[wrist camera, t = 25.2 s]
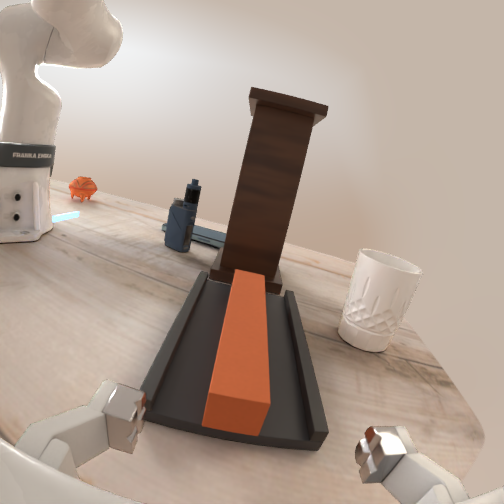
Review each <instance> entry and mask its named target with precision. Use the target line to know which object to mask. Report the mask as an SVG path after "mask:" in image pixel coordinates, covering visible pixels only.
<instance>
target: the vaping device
mask: <svg viewBox="0 0 504 504" xmlns="http://www.w3.org/2000/svg"><path fill="white" fill-rule="evenodd" d="M200 191H201V186H198V180H195V179H192V183H191V184H187V188H186V193H185V198H184V199H179V198H174V202H173V204H172V206H171V207H170V209H169V215H168V221H167V227H166V233H165V239H164V241H165V245H166V246H168V247H170V248H172V249H174V250H177V251H179V252H187V251H189V250H190V244H191V239H192V233H193V228H194V223H195V218H196V213H197V206H198V201H199V195H200Z"/></svg>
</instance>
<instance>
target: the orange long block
mask: <svg viewBox="0 0 504 504" xmlns="http://www.w3.org/2000/svg"><path fill="white" fill-rule="evenodd" d="M269 407H270V380H269V357H268V336H267V315H266V295H265V276H264V275H260V274H256V273H251V272H247V271H242V270H238V269H235V273H234V278H233V282H232V287H231V291H230V296H229V300H228V305H227V309H226V314H225V318H224V323H223V328H222V332H221V337H220V341H219V346H218V350H217V355H216V360H215V364H214V369H213V374H212V378H211V383H210V388H209V392H208V397H207V402H206V407H205V411H204V416H203V421H202V426H204V427H209V428H213V429H218V430H224V431H229V432H234V433H240V434H246V435H253V436H258V435H259V433H260V430H261V428H262V425H263V422H264V420H265V417H266V415H267V412H268V409H269Z"/></svg>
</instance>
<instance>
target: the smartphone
mask: <svg viewBox="0 0 504 504" xmlns="http://www.w3.org/2000/svg"><path fill="white" fill-rule="evenodd" d="M166 227H167V223H166V224H163V225H162V230H163V231H166ZM225 238H226V233H222V232H218V231H215V230H211V229H207V228H204V227H200V226H196V225H194V228H193V233H192V239H193V240H197V241H200V242H204V243H207V244H210V245H212V246H213V247H217V248H221V247H223V248H224V243H225Z"/></svg>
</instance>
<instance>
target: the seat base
mask: <svg viewBox="0 0 504 504" xmlns="http://www.w3.org/2000/svg"><path fill="white" fill-rule="evenodd" d="M207 278H208V273H207V272H203V271H201V272H200V274H199V276H198V278H197V279H196V281H195V283H194V285H193V287H192V289H191V291H190V292H189V294H188V296H187V298H186V300H185V302H184V304H183V306H182V308H181V309H180V311H179V313H178V315H177V317H176V319H175V321H174V323H173V325H172V327H171V329H170V330H169V332H168V334H167V336H166V338H165V340H164V342H163V344H162V346H161V348H160V350H159V352H158V354H157V356H156V358H155V360H154V362H153V364H152V366H151V368H150V370H149V372H148V374H147V376H146V378H145V380H144V382H143V384H142V386H141V388H140V390H141V391H144V392H146V393H147V398H146V402H145V405H144V407H145V408H146V417H145V420H147V421H150V422H154V423H157V424H161V425H164V426H168V427H172V428H176V429H180V430H184V431H188V432H192V433H197V434H201V435H206V436H211V437H216V438H221V439H226V440H232V441H237V442H243V443H250V444H257V445H264V446H272V447H281V448H290V449H302V450H316V451H318V450H319V448H320V447H321V445H322V443H323V441H324V440H325V438H326V437H327V435H328V433H329V431H328V426H327V422H326V418H325V414H324V410H323V405H322V401H321V397H320V393H319V389H318V385H317V381H316V377H315V373H314V369H313V365H312V361H311V357H310V353H309V349H308V345H307V341H306V338H305V334H304V330H303V326H302V322H301V318H300V315H299V311H298V307H297V303H296V300H295V296H294V292H293V291H288V290H286V292H285V295H284V297H281V296H276V295H272V294H267V293H265V295H266V315H267V336H268V357H269V380H270V407H269V409H268V412H267V415H266V417H265V420H264V422H263V425H262V428H261V430H260V433H259V435H258V436H253V435H246V434H240V433H234V432H229V431H224V430H218V429H213V428H209V427H204V426H202V421H203V416H204V411H205V407H206V402H207V397H208V392H209V388H210V383H211V378H212V374H213V369H214V364H215V360H216V355H217V350H218V346H219V341H220V337H221V332H222V328H223V323H224V318H225V314H226V309H227V305H228V300H229V296H230V291H231V287H232V286H231V285H227V284H222V283H218V282H213V281H209V280H207Z"/></svg>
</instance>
